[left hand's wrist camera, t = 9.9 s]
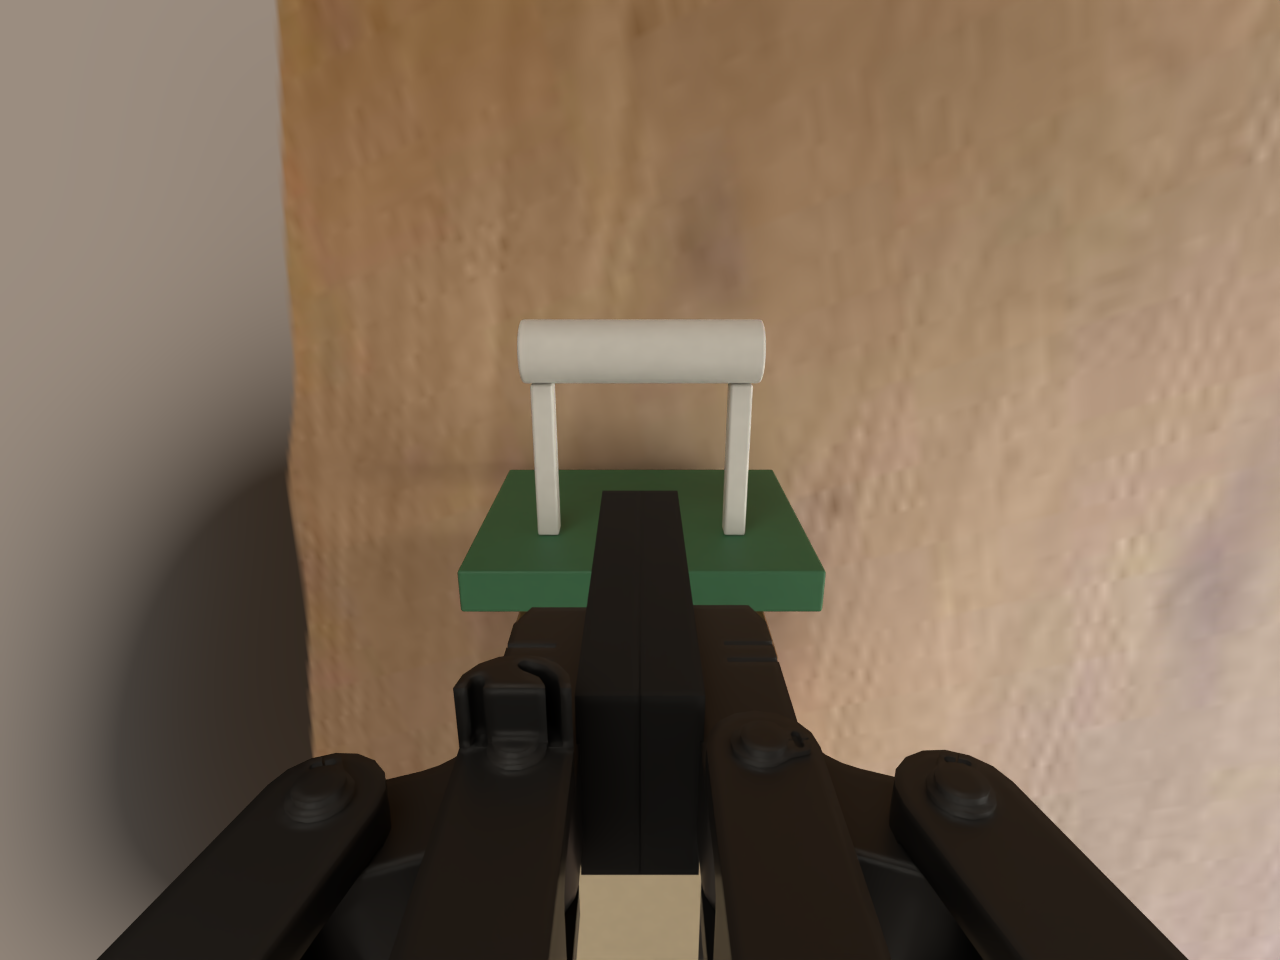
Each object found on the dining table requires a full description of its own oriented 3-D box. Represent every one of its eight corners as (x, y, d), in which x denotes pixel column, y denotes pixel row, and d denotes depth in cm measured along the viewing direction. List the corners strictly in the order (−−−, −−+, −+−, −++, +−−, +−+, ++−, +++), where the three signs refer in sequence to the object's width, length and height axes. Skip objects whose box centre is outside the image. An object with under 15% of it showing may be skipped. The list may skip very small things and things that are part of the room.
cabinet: (511, 652, 30) (452, 855, 20) (770, 652, 30) (831, 855, 20) (534, 978, 36) (498, 1245, 27) (747, 978, 36) (785, 1245, 27)
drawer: (498, 297, 24) (433, 334, 16) (784, 297, 24) (849, 334, 16) (534, 845, 32) (501, 1037, 25) (747, 845, 32) (780, 1038, 25)
